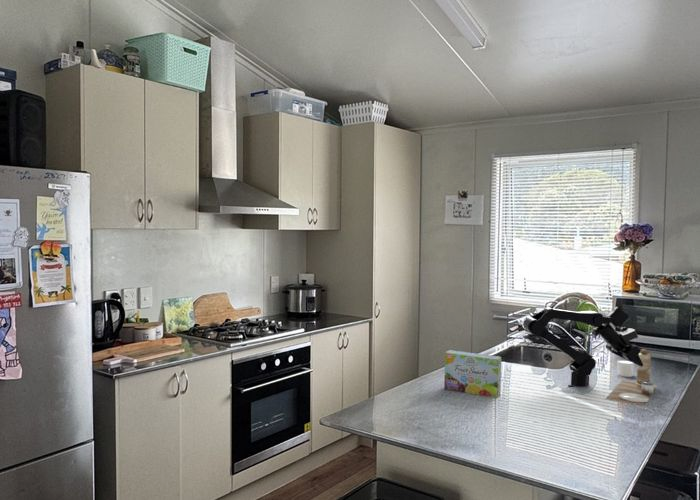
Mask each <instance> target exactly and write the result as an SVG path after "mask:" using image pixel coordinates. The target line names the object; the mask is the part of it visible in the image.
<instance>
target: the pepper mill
mask: <svg viewBox="0 0 700 500" xmlns="http://www.w3.org/2000/svg"><path fill="white" fill-rule="evenodd" d="M639 357H640V359H641V361H642V363H643V366H642V367H641V366H639V365H637V370H636V372H637V373H636V374H637V375H636V386H638V387H642V381H650V380H651V379H650V378H651V376H650V375H651V361H652V360H651V357H652V356H651V354H649V351H648V349H646V348H642V349H641V351H640V353H639ZM650 382H651V381H650Z"/></svg>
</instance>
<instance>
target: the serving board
mask: <svg viewBox="0 0 700 500" xmlns="http://www.w3.org/2000/svg"><path fill="white" fill-rule="evenodd" d="M636 382H637V381H636ZM636 382H635V381H630V380H629V381H627V380H621V381H620V382H619V383H618V384H617V386H616V387H615V388H613V390H612V391H611V392H610V393H609V394H608V395H607V396H606V397H605V400H608V401H613V402H617V403H618V402H619V403H625V404H631V405H634V406H641V407H644V406H645V405H646V404H647V402H644V403H639V402H631V401H626V400H623V399H621V398H620V397H619V394H622V393H633V394H639V395H643V396H646V397H647V398H649V399H650V397H651V396H652V395H646V394H642V393H641V391H642V387H638V386H636ZM656 388H657V385H655V384H654V385H653V392H654V391H655V389H656Z"/></svg>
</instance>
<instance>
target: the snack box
mask: <svg viewBox="0 0 700 500" xmlns="http://www.w3.org/2000/svg"><path fill="white" fill-rule="evenodd" d="M501 379H502V356H496V355H489V354H484V353H483V354H482V353H475V352H468V351H459V350H453V349H449V350H447V351H445V352H444V382H443V389H444V390H449V391H455V392H461V393H466V394H471V395H479V396H485V397H490V398H495V399H497V398H499V396H500V395H501V382H502V380H501Z"/></svg>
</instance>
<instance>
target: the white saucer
mask: <svg viewBox="0 0 700 500" xmlns="http://www.w3.org/2000/svg"><path fill="white" fill-rule="evenodd" d="M619 397H620V398H621V399H623V400H626V401H631V402H639V403H644V402H646V403H649V399H650V397H649V398H647V397H646V396H643V395H639V394H633V393H622V394H619Z"/></svg>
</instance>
